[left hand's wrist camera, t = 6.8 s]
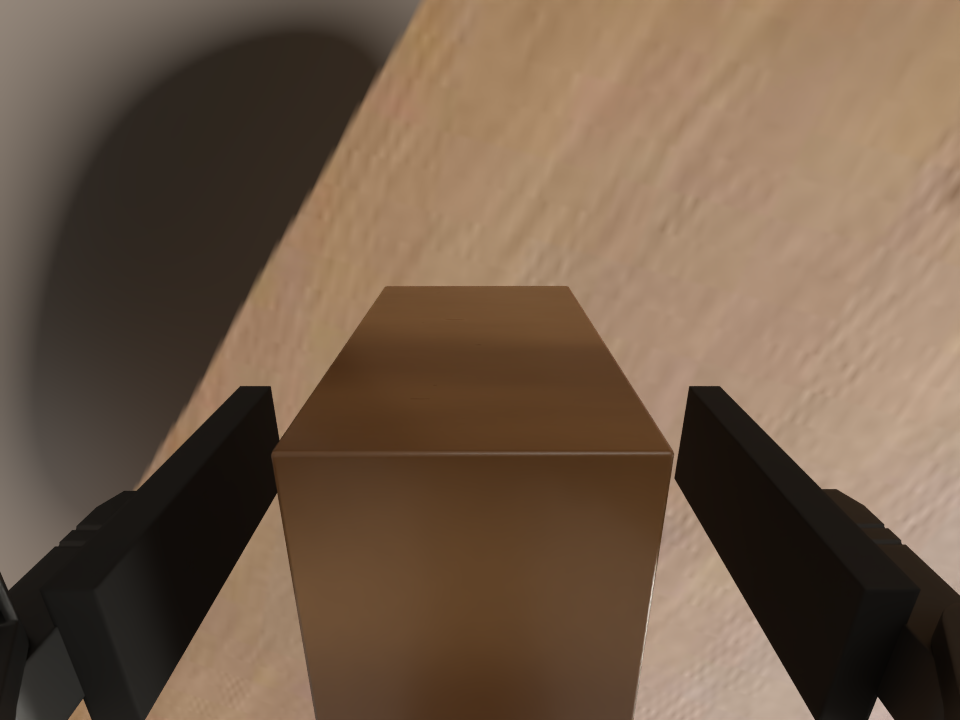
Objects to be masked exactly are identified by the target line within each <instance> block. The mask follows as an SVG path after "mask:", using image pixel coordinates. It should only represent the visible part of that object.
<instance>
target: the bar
mask: <svg viewBox="0 0 960 720" xmlns="http://www.w3.org/2000/svg"><path fill="white" fill-rule="evenodd" d="M271 458H272V464H273V470H274V476H275V482H276V487H277V493H278V499H279V505H280V511H281V517H282V523H283V529H284V535H285V541H286V546H287V552H288V558H289V564H290V570H291V576H292V582H293V588H294V594H295V600H296V606H297V611H298V617H299V623H300V629H301V635H302V641H303V647H304V653H305V659H306V665H307V671H308V676H309V682H310V688H311V694H312V700H313V706H314V712H315V718H316V720H633V719H634V713H635V706H636V699H637V693H638V686H639V680H640V673H641V667H642V660H643V654H644V647H645V641H646V634H647V628H648V621H649V615H650V608H651V602H652V595H653V589H654V582H655V575H656V569H657V562H658V556H659V549H660V543H661V536H662V530H663V523H664V517H665V510H666V504H667V497H668V491H669V484H670V478H671V471H672V465H673V458H674V453H673V450H672V449H671V447H670V445H669V444H668V442H667V441H666V439H665V438H664V436H663V434H662V433H661V431H660V430H659V428H658V427H657V425H656V423H655V422H654V420H653V419H652V417H651V416H650V414H649V413H648V411H647V409H646V408H645V406H644V405H643V403H642V402H641V400H640V398H639V397H638V395H637V394H636V392H635V391H634V389H633V387H632V386H631V384H630V383H629V381H628V380H627V378H626V376H625V375H624V373H623V372H622V370H621V369H620V367H619V365H618V364H617V362H616V361H615V359H614V358H613V356H612V354H611V353H610V351H609V350H608V348H607V347H606V345H605V343H604V342H603V340H602V339H601V337H600V336H599V334H598V332H597V331H596V329H595V328H594V326H593V325H592V323H591V321H590V320H589V318H588V317H587V315H586V314H585V312H584V310H583V309H582V307H581V306H580V304H579V303H578V301H577V299H576V298H575V296H574V295H573V293H572V292H571V290H570V288H569V287H567V286H387V287H385V288H384V289H383V291H382V292H381V294H380V295H379V297H378V298H377V299H376V301H375V302H374V304H373V305H372V307H371V308H370V310H369V311H368V313H367V314H366V316H365V317H364V318H363V320H362V321H361V323H360V324H359V326H358V327H357V329H356V330H355V332H354V333H353V334H352V336H351V337H350V339H349V340H348V342H347V343H346V345H345V346H344V348H343V349H342V350H341V352H340V353H339V355H338V356H337V358H336V359H335V361H334V362H333V364H332V365H331V366H330V368H329V369H328V371H327V372H326V374H325V375H324V377H323V378H322V380H321V381H320V382H319V384H318V385H317V387H316V388H315V390H314V391H313V393H312V394H311V396H310V397H309V399H308V400H307V401H306V403H305V404H304V406H303V407H302V409H301V410H300V412H299V413H298V415H297V416H296V417H295V419H294V420H293V422H292V423H291V425H290V426H289V428H288V429H287V431H286V432H285V433H284V435H283V436H282V438H281V439H280V441H279V442H278V444H277V445H276V447H275V448H274V449H273V451H272V454H271Z"/></svg>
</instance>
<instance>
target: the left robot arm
mask: <svg viewBox="0 0 960 720" xmlns="http://www.w3.org/2000/svg"><path fill="white" fill-rule="evenodd" d="M278 442H279V435H278V429H277V422H276V416H275V410H274V404H273V398H272V392H271V386H240V387H239V388H238V389H237V390H236V391H235V392H234V393H233V394H232V395H231V396H230V397H229V398H228V399H227V400H226V401H225V402H224V403H223V404H222V405H221V406H220V407H219V408H218V409H217V410H216V411H215V412H214V413H213V414H212V415H211V416H210V417H209V418H208V419H207V420H206V421H205V422H204V423H203V424H202V425H201V426H200V427H199V428H198V429H197V431H196V432H195V433H194V434H193V435H192V436H191V437H190V438H189V439H188V440H187V441H186V442H185V443H184V444H183V445H182V446H181V447H180V448H179V449H178V450H177V451H176V452H175V453H174V454H173V455H172V456H171V457H170V458H169V459H168V460H167V461H166V462H165V463H164V464H163V465H162V466H161V467H160V468H159V469H158V470H157V471H156V472H155V473H154V474H153V475H152V476H151V477H150V478H149V479H148V480H147V481H146V482H145V483H144V484H143V485H142V486H141V487H140V488H139V489H138V490H137V491H123V492H122V493H120V494H118V495H116V496H115V497H113V498H111V499H110V500H108V501H106V502H105V503H103V504H101V505H100V506H98V507H96V508H95V509H94V510H93V511H92V512H91V513H90V514H89V515H88V516H87V517H86V518H85V519H84V520H83V521H82V522H80V523H79V524H78V525H77V528H76V530H72V531H71V532H70V533H69V534H68V535H67V536H66V537H65V538H64V539H63V540H62V541H60V544H59V546H58V547H54V548H53V549H52V550H51V551H50V552H49V553H48V554H47V555H46V556H45V557H44V558H42V559H41V560H40V561H39V562H38V563H37V564H36V565H35V566H34V567H33V568H32V569H31V570H30V571H29V572H28V573H27V574H26V575H24V576H23V577H22V578H21V579H20V580H19V581H18V582H17V583H16V584H15V585H14V586H13V587H12V588H11V589H10V590H9V591H8V589H7V587H6V584H5V582H4V580H3V577H2V575H1V573H0V720H68V719H69V717H70V716H71V715H72V713H73V712H74V710H75V709H76V708H77V706H78V705H79V703H80V702H81V701H82V699H84V702H85V704H86V707H87V709H88V712H89V714H90V717H91V719H92V720H145V719H146V717H147V715H148V714H149V712H150V710H151V709H152V707H153V705H154V703H155V702H156V700H157V698H158V696H159V695H160V693H161V691H162V690H163V688H164V686H165V684H166V683H167V681H168V679H169V678H170V676H171V674H172V672H173V671H174V669H175V667H176V666H177V664H178V662H179V660H180V659H181V657H182V655H183V654H184V652H185V650H186V648H187V647H188V645H189V643H190V642H191V640H192V638H193V636H194V635H195V633H196V631H197V630H198V628H199V626H200V624H201V623H202V621H203V619H204V618H205V616H206V614H207V612H208V611H209V609H210V607H211V605H212V604H213V602H214V600H215V599H216V597H217V595H218V593H219V592H220V590H221V588H222V587H223V585H224V583H225V581H226V580H227V578H228V576H229V575H230V573H231V571H232V569H233V568H234V566H235V564H236V563H237V561H238V559H239V557H240V556H241V554H242V552H243V551H244V549H245V547H246V545H247V544H248V542H249V540H250V539H251V537H252V535H253V533H254V532H255V530H256V528H257V526H258V525H259V523H260V521H261V520H262V518H263V516H264V514H265V513H266V511H267V509H268V508H269V506H270V504H271V502H272V501H273V499H274V497H275V496H276V494H277V487H276V482H275V476H274V470H273V464H272V458H271V454H272V451H273V449H274V448H275V447H276V445H277V444H278ZM675 480H676V482H677V484H678V485H679V487H680V489H681V490H682V492H683V494H684V496H685V497H686V499H687V501H688V502H689V504H690V506H691V508H692V509H693V511H694V513H695V514H696V516H697V518H698V520H699V521H700V523H701V525H702V526H703V528H704V530H705V532H706V533H707V535H708V537H709V538H710V540H711V542H712V544H713V545H714V547H715V549H716V551H717V552H718V554H719V556H720V557H721V559H722V561H723V563H724V564H725V566H726V568H727V569H728V571H729V573H730V575H731V576H732V578H733V580H734V581H735V583H736V585H737V587H738V588H739V590H740V592H741V593H742V595H743V597H744V599H745V600H746V602H747V604H748V605H749V607H750V609H751V611H752V612H753V614H754V616H755V617H756V619H757V621H758V623H759V624H760V626H761V628H762V630H763V631H764V633H765V635H766V636H767V638H768V640H769V642H770V643H771V645H772V647H773V648H774V650H775V652H776V654H777V655H778V657H779V659H780V660H781V662H782V664H783V666H784V667H785V669H786V671H787V672H788V674H789V676H790V678H791V679H792V681H793V683H794V684H795V686H796V688H797V690H798V691H799V693H800V695H801V696H802V698H803V700H804V702H805V703H806V705H807V707H808V709H809V710H810V712H811V714H812V715H813V717H814V719H815V720H868V719H869V717H870V714H871V712H872V709H873V707H874V704H875V702H876V699H877V697H878V698H879V699H880V700H881V702H882V703H883V705H884V706H885V707H886V709H887V710H888V712H889V713H890V714H891V716H892V717H893V718H894V720H960V595H959V594H958V593H957V592H955V591H954V590H953V589H952V588H951V587H950V586H949V585H948V584H947V583H946V582H945V581H944V580H943V579H942V578H941V577H940V576H938V575H937V574H936V573H935V572H934V571H933V570H932V569H931V568H930V567H929V566H928V565H927V564H926V563H925V562H924V561H923V560H921V559H920V558H919V557H918V556H917V555H916V554H915V553H914V552H913V551H912V550H911V549H910V548H909V547H908V546H907V545H902V543H901V540H900V539H899V538H898V537H897V536H896V535H895V534H894V533H893V532H892V531H891V530H890V529H888V528H885V527H884V524H883V523H882V522H881V521H880V520H879V519H878V518H877V517H876V516H875V515H874V514H873V513H871V512H870V511H869V510H868V509H867V508H866V507H865V506H864V505H862V504H861V503H859V502H857V501H856V500H854V499H852V498H850V497H849V496H847V495H845V494H844V493H842V492H840V491H839V490H837V489H821V488H820V487H819V486H818V485H817V484H816V483H815V482H814V481H813V480H812V479H811V478H810V477H809V476H808V475H807V474H806V473H805V472H804V471H803V470H802V469H801V468H800V467H799V466H798V465H797V464H796V463H795V462H794V461H793V460H792V459H791V458H790V457H789V456H788V455H787V454H786V453H785V452H784V451H783V450H782V449H781V448H780V447H779V446H778V445H777V444H776V443H775V442H774V441H773V440H772V439H771V438H770V437H769V436H768V435H767V434H766V433H765V432H764V430H763V429H762V428H761V427H760V426H759V425H758V424H757V423H756V422H755V421H754V420H753V419H752V418H751V417H750V416H749V415H748V414H747V413H746V412H745V411H744V410H743V409H742V408H741V407H740V406H739V405H738V404H737V403H736V402H735V401H734V400H733V399H732V398H731V397H730V396H729V395H728V394H727V393H726V392H725V391H724V390H723V389H722V388H721V387H720V386H689V392H688V398H687V404H686V410H685V416H684V422H683V429H682V435H681V441H680V447H679V453H678V460H677V466H676V472H675Z"/></svg>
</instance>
